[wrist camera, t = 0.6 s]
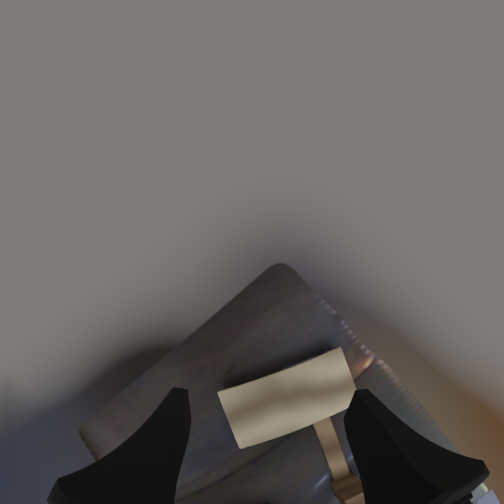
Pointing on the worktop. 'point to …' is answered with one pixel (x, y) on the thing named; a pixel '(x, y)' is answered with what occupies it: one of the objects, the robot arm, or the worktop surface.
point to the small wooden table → (288, 399)
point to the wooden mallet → (338, 465)
